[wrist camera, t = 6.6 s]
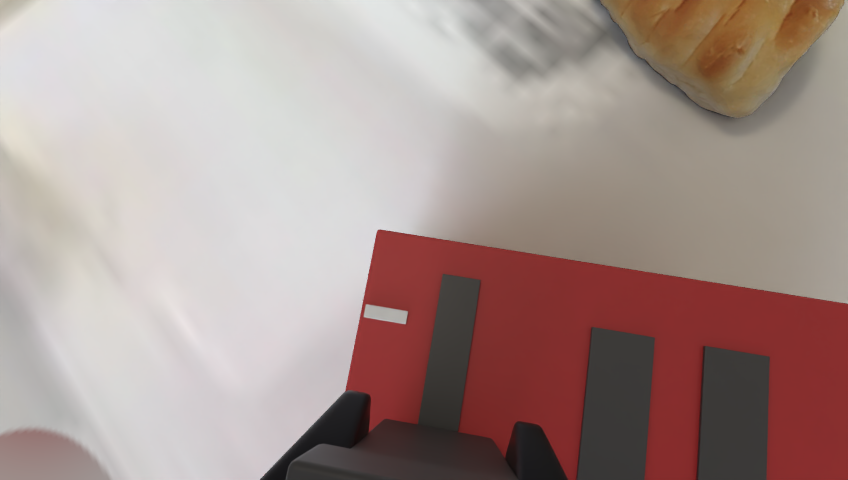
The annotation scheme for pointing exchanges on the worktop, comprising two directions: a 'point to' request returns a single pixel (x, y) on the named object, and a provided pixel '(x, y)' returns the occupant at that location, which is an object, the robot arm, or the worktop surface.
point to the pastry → (723, 44)
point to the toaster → (604, 363)
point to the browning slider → (405, 457)
